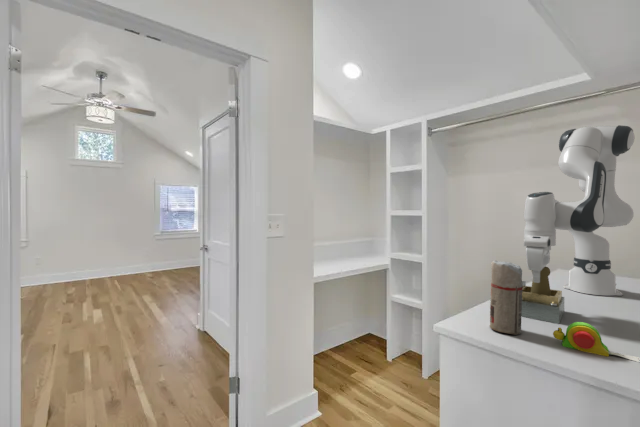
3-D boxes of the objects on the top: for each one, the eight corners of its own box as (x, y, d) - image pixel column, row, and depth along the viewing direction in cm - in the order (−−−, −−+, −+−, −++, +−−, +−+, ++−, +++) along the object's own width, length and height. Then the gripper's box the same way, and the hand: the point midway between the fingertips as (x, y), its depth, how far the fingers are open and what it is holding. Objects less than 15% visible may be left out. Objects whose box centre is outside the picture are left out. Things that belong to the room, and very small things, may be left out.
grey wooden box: (523, 304, 114) (523, 280, 114) (564, 311, 106) (564, 285, 106) (513, 314, 102) (514, 288, 102) (559, 323, 94) (559, 294, 94)
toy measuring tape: (553, 338, 83) (553, 315, 83) (657, 360, 71) (657, 332, 71) (553, 347, 78) (553, 321, 78) (665, 371, 66) (665, 341, 66)
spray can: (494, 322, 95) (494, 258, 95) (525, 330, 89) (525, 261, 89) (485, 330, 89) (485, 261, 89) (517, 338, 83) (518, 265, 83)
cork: (555, 301, 100) (555, 267, 100) (534, 299, 101) (534, 266, 102) (546, 297, 106) (546, 265, 106) (526, 295, 107) (527, 264, 108)
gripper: (533, 236, 114) (533, 273, 114) (522, 241, 99) (522, 283, 99) (554, 237, 109) (554, 276, 110) (546, 242, 94) (546, 287, 95)
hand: (539, 279), depth 104 cm, fingers open, 8 cm apart
